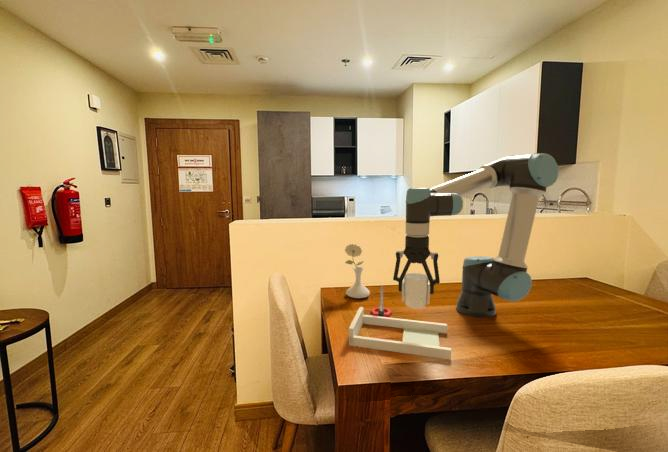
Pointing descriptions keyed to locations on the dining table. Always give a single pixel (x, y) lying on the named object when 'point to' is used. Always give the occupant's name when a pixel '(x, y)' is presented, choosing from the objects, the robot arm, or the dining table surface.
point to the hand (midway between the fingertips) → (415, 301)
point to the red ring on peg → (381, 307)
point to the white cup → (415, 290)
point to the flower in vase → (357, 288)
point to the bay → (415, 336)
